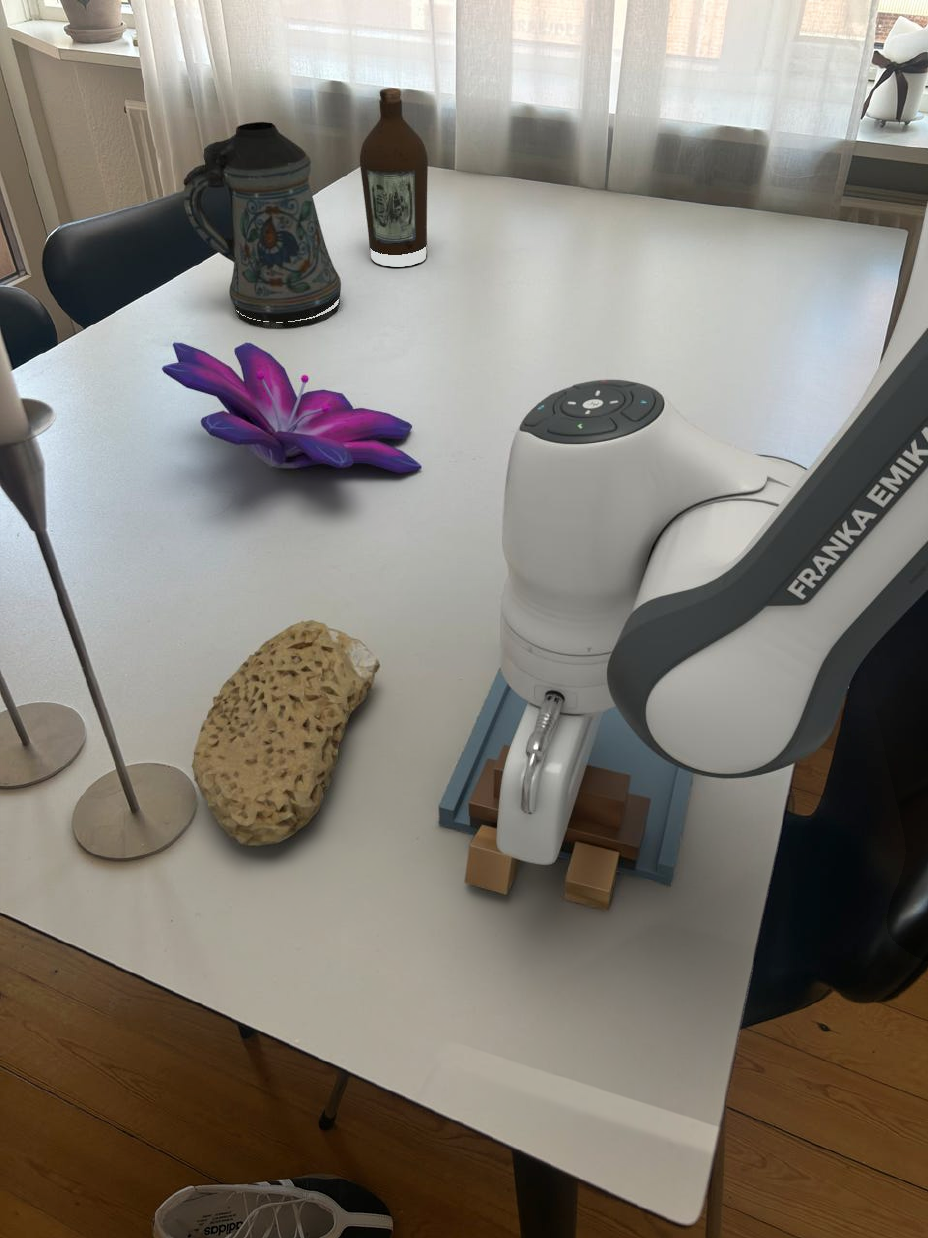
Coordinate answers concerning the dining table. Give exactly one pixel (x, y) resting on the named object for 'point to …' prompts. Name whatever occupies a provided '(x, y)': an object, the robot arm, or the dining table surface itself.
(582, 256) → the dining table surface
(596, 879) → the light brown wooden cube
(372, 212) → the olive oil
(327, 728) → the sponge
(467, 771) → the tray
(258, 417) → the decorative flower
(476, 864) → the brown wooden cube
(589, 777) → the brush
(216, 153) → the beer stein
